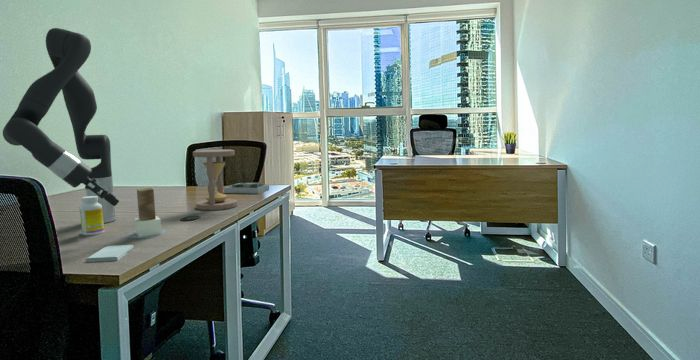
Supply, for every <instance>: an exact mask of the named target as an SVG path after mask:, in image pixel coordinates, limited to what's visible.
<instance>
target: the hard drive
mask: <svg viewBox="0 0 700 360" xmlns="http://www.w3.org/2000/svg"><path fill="white" fill-rule="evenodd" d="M134 247H135V246H134V245H133V244H125V245H124V244H121V245H107V246H104V247H103V248H101V249H100V250H98V251H96V252H95V253H93V254H92V255H90V256H88V257H86V259H85V261H86V263H96V262H111V261H112V262H114V261H115V262H116V261H119V260H121V259H122V258H123V257H124V256H126V255H127V254H128V253H129V252H130V250H131V249H133V248H134Z"/></svg>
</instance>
